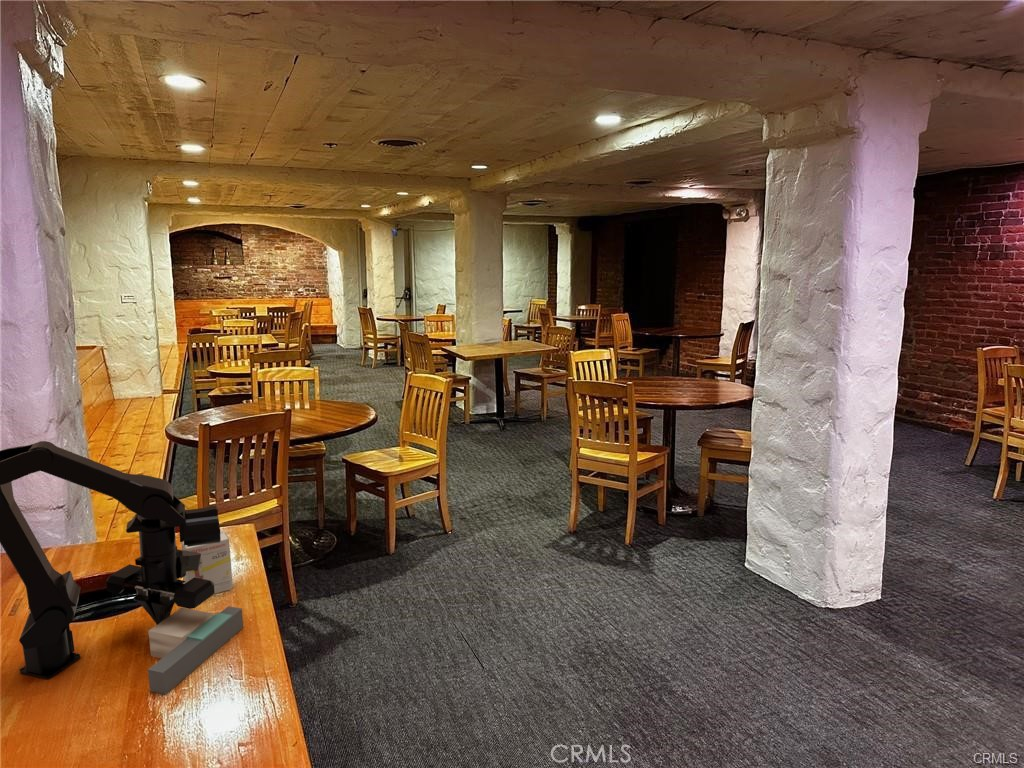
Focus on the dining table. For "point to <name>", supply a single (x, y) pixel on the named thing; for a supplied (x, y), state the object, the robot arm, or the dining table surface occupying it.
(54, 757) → the dining table surface
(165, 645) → the pale block
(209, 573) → the ink box
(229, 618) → the dark bar
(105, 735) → the dining table surface
